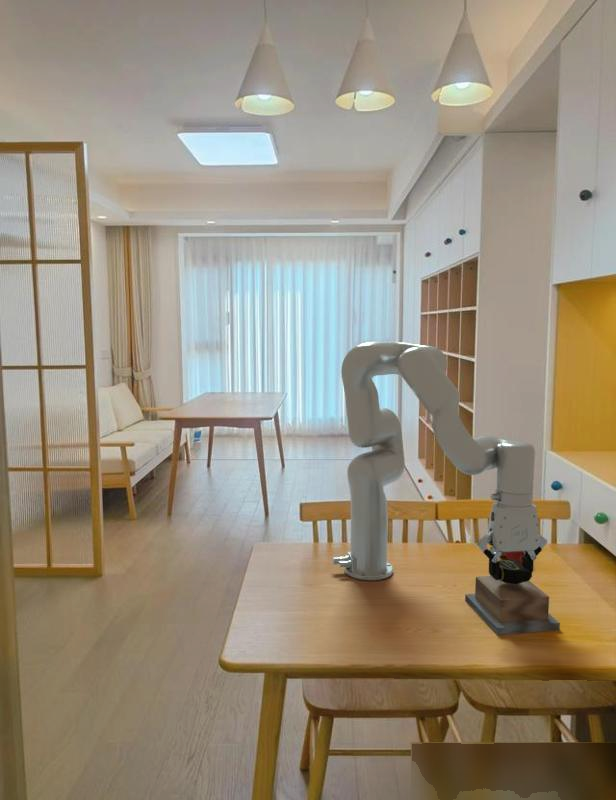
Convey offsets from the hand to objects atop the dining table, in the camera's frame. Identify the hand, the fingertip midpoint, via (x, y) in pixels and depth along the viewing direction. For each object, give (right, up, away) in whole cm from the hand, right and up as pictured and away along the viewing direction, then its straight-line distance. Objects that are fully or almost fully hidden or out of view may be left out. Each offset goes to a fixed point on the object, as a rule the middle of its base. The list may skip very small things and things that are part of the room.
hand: (510, 575), depth 130 cm
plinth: (0, -9, +1) cm, 9 cm away
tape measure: (+1, -1, +1) cm, 2 cm away
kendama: (+11, -5, +38) cm, 39 cm away
